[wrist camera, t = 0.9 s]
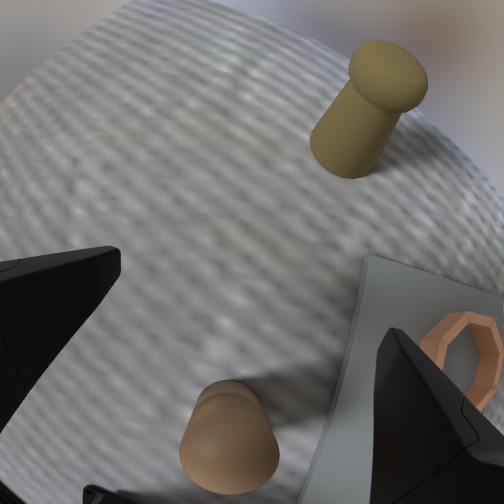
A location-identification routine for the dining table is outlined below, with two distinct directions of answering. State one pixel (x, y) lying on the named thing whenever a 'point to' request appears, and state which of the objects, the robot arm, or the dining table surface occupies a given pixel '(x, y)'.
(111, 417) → the dining table surface
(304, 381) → the dining table surface
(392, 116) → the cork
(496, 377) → the terracotta ring
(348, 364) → the slate board
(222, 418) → the walnut cylinder
